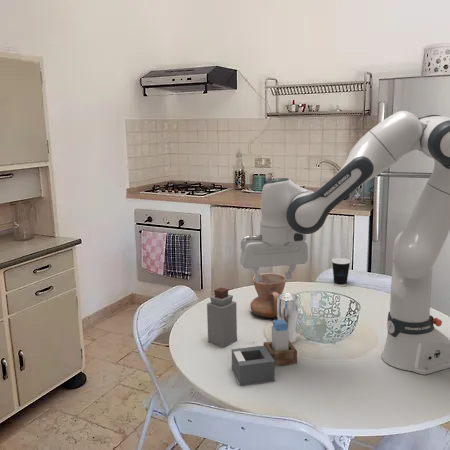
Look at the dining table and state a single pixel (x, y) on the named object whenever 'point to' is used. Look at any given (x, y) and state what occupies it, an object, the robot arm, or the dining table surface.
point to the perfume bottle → (222, 319)
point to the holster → (282, 354)
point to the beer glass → (288, 312)
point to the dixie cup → (340, 271)
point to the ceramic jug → (267, 294)
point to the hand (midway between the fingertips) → (273, 280)
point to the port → (253, 365)
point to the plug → (280, 335)
